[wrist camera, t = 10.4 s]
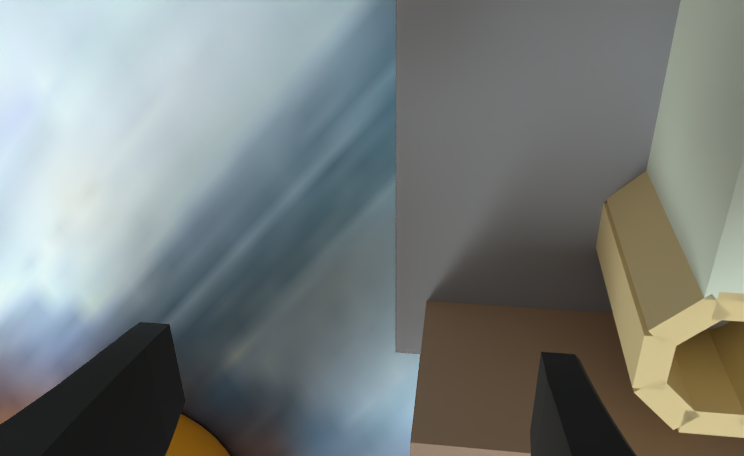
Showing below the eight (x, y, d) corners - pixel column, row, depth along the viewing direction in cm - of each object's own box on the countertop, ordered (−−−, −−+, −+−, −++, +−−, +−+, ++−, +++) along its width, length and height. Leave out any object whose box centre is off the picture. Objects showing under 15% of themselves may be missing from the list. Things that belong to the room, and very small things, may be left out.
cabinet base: (886, 369, 23) (1028, 564, 17) (398, 333, 25) (372, 498, 19) (1276, -466, 13) (1963, -703, 7) (401, -415, 15) (347, -566, 9)
